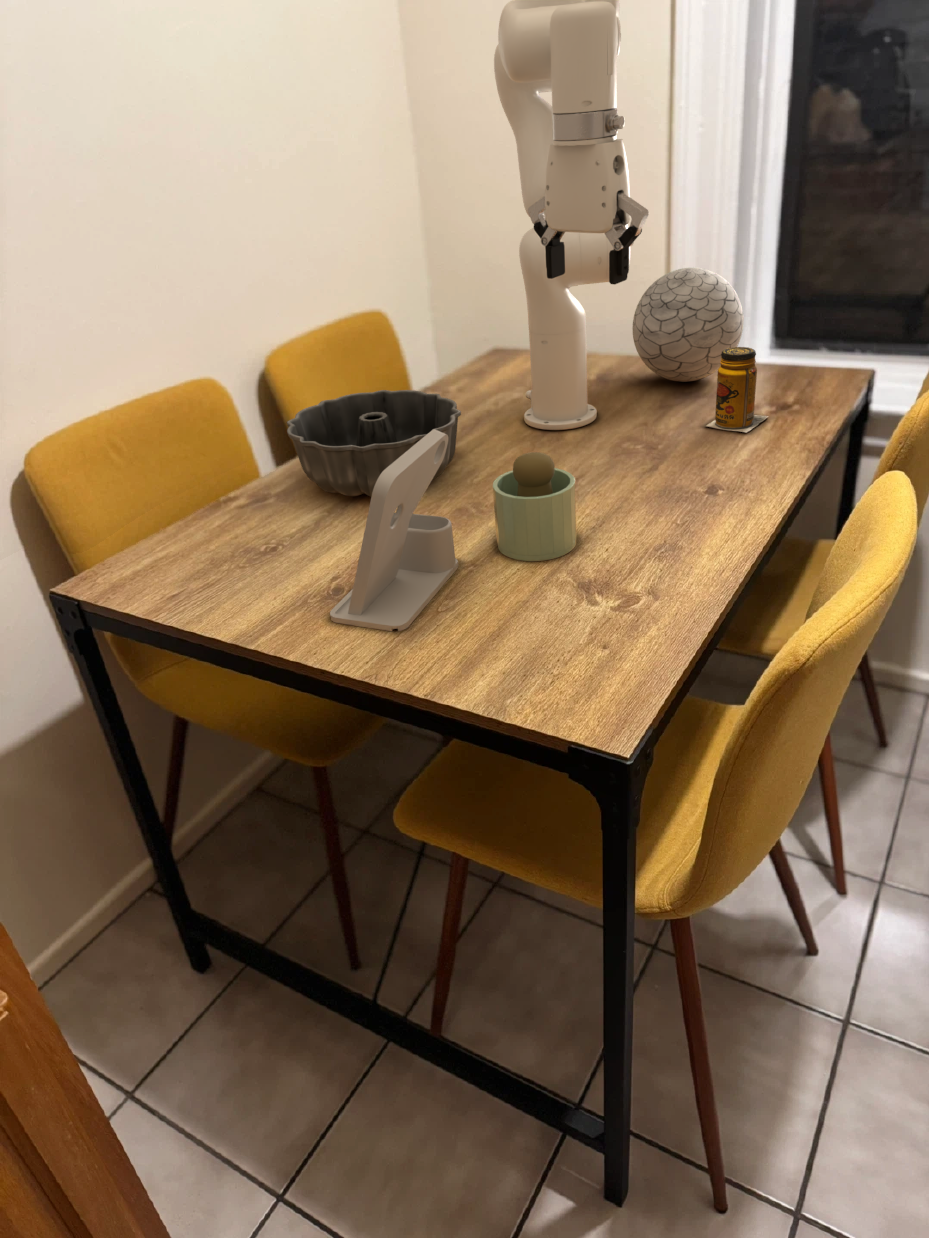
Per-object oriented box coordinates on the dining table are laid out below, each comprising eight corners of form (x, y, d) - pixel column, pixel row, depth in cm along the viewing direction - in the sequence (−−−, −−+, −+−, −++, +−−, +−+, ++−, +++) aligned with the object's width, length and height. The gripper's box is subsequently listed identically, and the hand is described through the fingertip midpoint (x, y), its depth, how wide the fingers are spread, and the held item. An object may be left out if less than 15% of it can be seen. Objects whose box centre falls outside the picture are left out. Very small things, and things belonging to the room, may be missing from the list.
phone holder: (393, 553, 116) (374, 420, 107) (464, 562, 112) (451, 424, 103) (326, 621, 103) (297, 475, 93) (404, 633, 99) (383, 482, 90)
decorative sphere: (673, 359, 181) (676, 255, 171) (760, 374, 168) (769, 261, 157) (610, 385, 170) (610, 275, 160) (698, 402, 157) (704, 283, 147)
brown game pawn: (556, 547, 112) (553, 465, 106) (509, 545, 113) (504, 464, 108) (563, 526, 117) (561, 447, 111) (518, 525, 118) (513, 446, 113)
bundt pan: (492, 453, 145) (487, 392, 139) (417, 520, 125) (409, 452, 119) (353, 441, 155) (344, 385, 150) (264, 502, 135) (250, 439, 130)
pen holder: (483, 540, 117) (477, 480, 113) (547, 519, 121) (544, 460, 117) (524, 569, 109) (521, 505, 105) (592, 545, 113) (591, 483, 109)
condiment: (704, 427, 146) (708, 353, 140) (728, 412, 151) (732, 340, 145) (746, 434, 142) (752, 358, 136) (769, 418, 147) (775, 344, 141)
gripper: (665, 123, 103) (660, 278, 112) (545, 127, 113) (550, 268, 122) (629, 130, 98) (627, 291, 107) (508, 134, 108) (515, 280, 118)
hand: (586, 279), depth 115 cm, fingers open, 9 cm apart
